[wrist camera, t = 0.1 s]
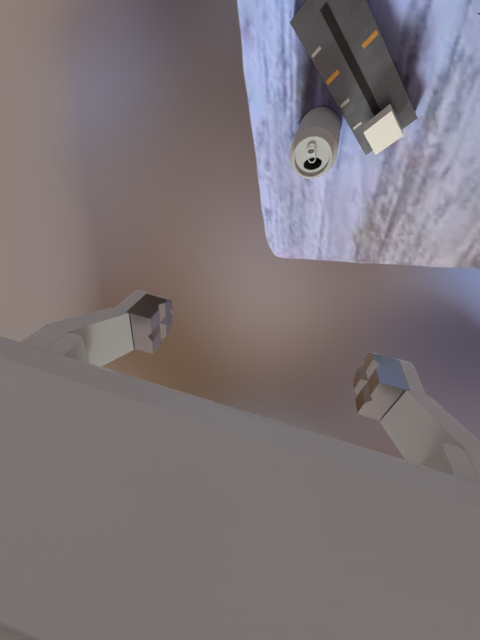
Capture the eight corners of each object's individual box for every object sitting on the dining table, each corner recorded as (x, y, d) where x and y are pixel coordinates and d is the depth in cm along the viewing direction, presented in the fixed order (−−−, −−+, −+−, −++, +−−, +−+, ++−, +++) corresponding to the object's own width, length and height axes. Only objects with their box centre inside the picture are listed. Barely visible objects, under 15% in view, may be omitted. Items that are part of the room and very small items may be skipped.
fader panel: (345, -51, 32) (343, -51, 30) (415, 111, 42) (417, 118, 40) (293, 19, 38) (289, 22, 36) (365, 148, 48) (365, 155, 46)
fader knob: (389, 99, 39) (391, 110, 36) (400, 123, 41) (403, 135, 38) (363, 121, 42) (363, 132, 39) (374, 142, 44) (375, 155, 41)
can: (300, 156, 52) (291, 186, 45) (296, 111, 46) (284, 137, 39) (341, 148, 49) (337, 179, 42) (341, 99, 43) (336, 125, 36)
